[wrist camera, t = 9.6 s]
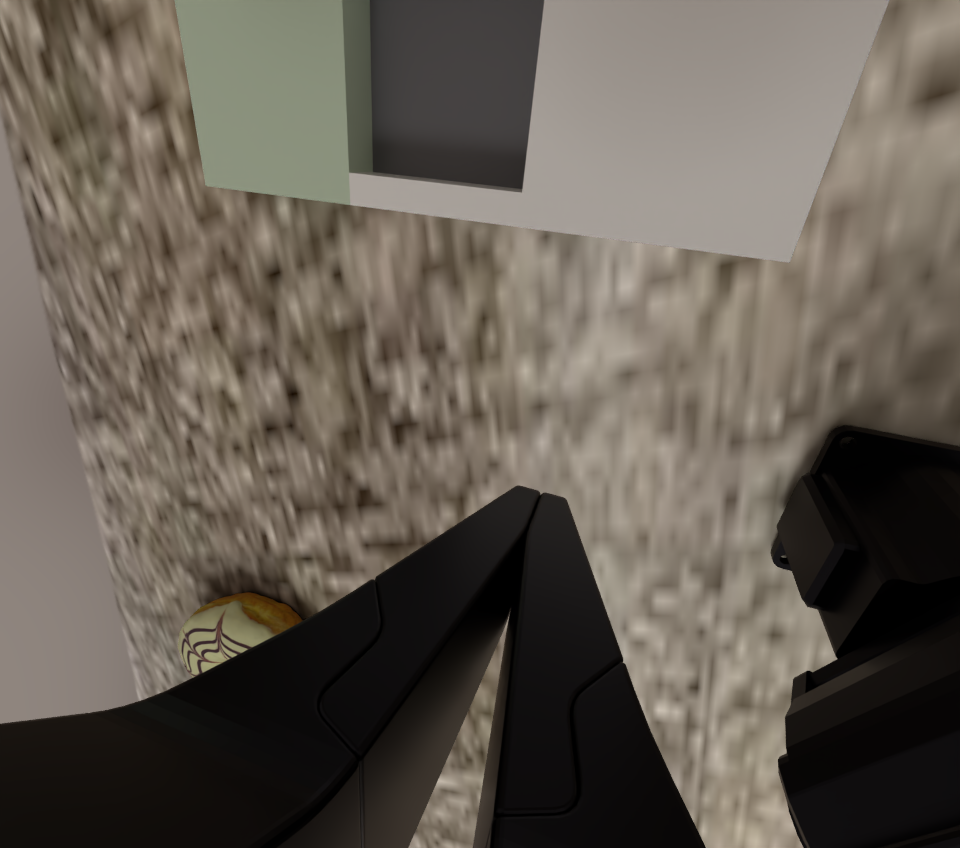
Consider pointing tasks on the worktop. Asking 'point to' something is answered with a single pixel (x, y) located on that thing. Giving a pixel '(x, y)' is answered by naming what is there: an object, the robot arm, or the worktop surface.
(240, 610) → the decorated donut
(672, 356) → the worktop surface
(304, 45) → the trap deck
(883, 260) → the worktop surface
